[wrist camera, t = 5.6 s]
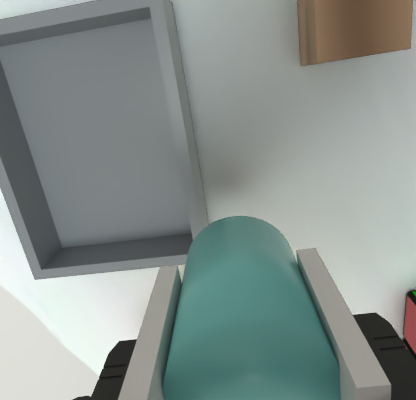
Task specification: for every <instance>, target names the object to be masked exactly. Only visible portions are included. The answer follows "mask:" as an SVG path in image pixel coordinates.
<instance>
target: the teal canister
mask: <svg viewBox="0 0 416 400" xmlns="http://www.w3.org/2000/svg"><path fill="white" fill-rule="evenodd" d="M163 396H164V400H341V390H340V368H339V364H338V362H337V359H336V357H335V355H334V352H333V350H332V347H331V345H330V342H329V340H328V338H327V335H326V333H325V330H324V328H323V325H322V323H321V321H320V318H319V316H318V313H317V311H316V308H315V306H314V304H313V301H312V299H311V296H310V294H309V291H308V289H307V287H306V284H305V282H304V279H303V277H302V274H301V272H300V270H299V267H298V264H297V262H296V260H295V257H294V255H293V252H292V250H291V247H290V245H289V243H288V241H287V240H286V238H285V237H284V235H283V234H282V233H281V232H280V231H279V230H278V229H276V228H275V227H274V226H272V225H271V224H269V223H267V222H265V221H263V220H260V219H257V218H254V217H248V216H234V217H228V218H224V219H221V220H218V221H216V222H214V223H211V224H210V225H208V226H207V227H205V228H204V229H203V230H202V231H201V232H200V233H199V234H198V235H197V236H196V237H195V239H194V240H193V242H192V244H191V246H190V248H189V251H188V255H187V260H186V265H185V271H184V276H183V281H182V286H181V292H180V297H179V302H178V308H177V313H176V318H175V324H174V329H173V334H172V340H171V345H170V350H169V355H168V361H167V366H166V371H165V377H164V383H163Z"/></svg>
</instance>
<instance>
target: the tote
mask: <svg viewBox="0 0 416 400" xmlns="http://www.w3.org/2000/svg"><path fill="white" fill-rule="evenodd" d="M0 188H1V191H2V193H3V196H4V199H5V201H6V204H7V207H8V209H9V212H10V215H11V217H12V220H13V223H14V225H15V228H16V231H17V233H18V236H19V239H20V241H21V244H22V247H23V249H24V252H25V255H26V258H27V260H28V263H29V266H30V268H31V271H32V274H33V276H34V279H35V280H37V279H47V278H56V277H66V276H76V275H86V274H95V273H105V272H115V271H124V270H134V269H144V268H154V267H163V266H173V265H183V264H186V260H187V255H188V251H189V248H190V246H191V244H192V242H193V240H194V239H195V237H196V236H197V235H198V234H199V233H200V232H201V231H202V230H203V229H204V228H205V227H207V226H208V225H209V221H208V215H207V209H206V203H205V197H204V191H203V185H202V179H201V173H200V167H199V161H198V155H197V149H196V143H195V137H194V131H193V125H192V119H191V113H190V107H189V101H188V95H187V89H186V83H185V77H184V71H183V65H182V59H181V53H180V47H179V41H178V35H177V29H176V23H175V17H174V11H173V5H172V2H171V1H170V0H96V1H91V2H86V3H81V4H76V5H71V6H66V7H61V8H56V9H50V10H45V11H40V12H35V13H30V14H25V15H20V16H15V17H10V18H5V19H0Z"/></svg>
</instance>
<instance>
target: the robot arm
mask: <svg viewBox="0 0 416 400" xmlns="http://www.w3.org/2000/svg"><path fill="white" fill-rule="evenodd" d="M296 252H297V264H298V267H299V270H300V272H301V274H302V277H303V279H304V282H305V284H306V287H307V289H308V291H309V294H310V296H311V299H312V301H313V304H314V306H315V308H316V311H317V313H318V316H319V318H320V321H321V323H322V325H323V328H324V330H325V333H326V335H327V338H328V340H329V342H330V345H331V347H332V350H333V352H334V355H335V357H336V359H337V362H338V364H339V368H340V390H341V400H416V360H415V359H414V357H413V356H412V354H411V353H410V351H409V350H408V349H406V346H405V344H404V343H403V341H402V340H401V338H399V336H398V334H397V333H396V331H395V330H394V328H393V327H392V325H391V324H390V323H389V322H388V321H387V320H385V319H384V318H382V317H381V316H380V315H378V314H377V313H367V314H358V315H352V313H351V312H350V310H349V308H348V306H347V304H346V303H345V301H344V299H343V297H342V295H341V294H340V292H339V290H338V288H337V286H336V285H335V283H334V281H333V279H332V277H331V276H330V274H329V272H328V270H327V268H326V267H325V265H324V263H323V261H322V259H321V258H320V256H319V254H318V252H317V250H316V249H315V248H311V249H303V250H296ZM181 286H182V283H181V279H180V274H179V270H178V265H176V266H168V267H160V269H159V272H158V275H157V278H156V282H155V285H154V288H153V291H152V294H151V297H150V300H149V304H148V307H147V310H146V313H145V316H144V319H143V322H142V326H141V329H140V332H139V335H138V338H137V339H136V340H127V341H119V342H118V343H117V345H116V346H115V347H114V348H113V349H112V350H111V351H110V353H109V354H108V357H107V359H106V362H105V364H104V369H102V372H101V374H100V377H99V380H98V382H97V384H96V386H95V389H94V392H93V394H92V396H91V397H90V396H83V397H77V398H75V399H73V400H164V396H163V383H164V377H165V371H166V366H167V361H168V355H169V350H170V345H171V340H172V334H173V329H174V324H175V318H176V313H177V308H178V302H179V297H180V292H181Z"/></svg>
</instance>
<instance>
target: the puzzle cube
mask: <svg viewBox="0 0 416 400" xmlns="http://www.w3.org/2000/svg"><path fill="white" fill-rule="evenodd" d="M404 337H405V340H404V341H403V343H404V344H405V346H406V349H408V350H409V351H410V353H411V354H412V356H413V357H414V359H415V360H416V291H412V292H409V293H408V295H407V303H406V314H405V326H404Z"/></svg>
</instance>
